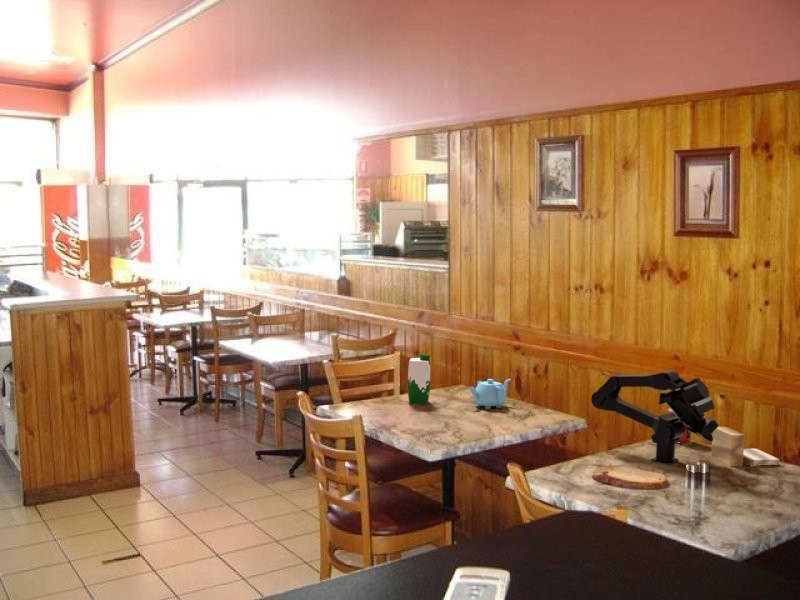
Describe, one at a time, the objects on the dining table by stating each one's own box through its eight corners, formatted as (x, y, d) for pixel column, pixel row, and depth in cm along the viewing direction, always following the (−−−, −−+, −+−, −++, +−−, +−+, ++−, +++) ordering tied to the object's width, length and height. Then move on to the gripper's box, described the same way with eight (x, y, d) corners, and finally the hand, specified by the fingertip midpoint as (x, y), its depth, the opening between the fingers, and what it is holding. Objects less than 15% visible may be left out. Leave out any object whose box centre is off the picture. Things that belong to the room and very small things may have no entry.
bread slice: (674, 486, 251) (675, 473, 250) (629, 495, 242) (629, 482, 241) (629, 470, 266) (630, 458, 266) (585, 477, 257) (586, 465, 257)
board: (750, 466, 272) (750, 460, 272) (727, 455, 285) (728, 449, 284) (779, 465, 274) (779, 459, 273) (755, 454, 286) (755, 448, 286)
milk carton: (428, 405, 351) (429, 356, 349) (406, 404, 352) (407, 355, 350) (430, 400, 359) (431, 353, 357) (409, 399, 361) (410, 352, 359)
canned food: (691, 444, 298) (693, 413, 297) (667, 442, 299) (669, 411, 298) (688, 438, 305) (690, 408, 304) (665, 437, 307) (667, 406, 306)
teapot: (477, 401, 361) (478, 374, 360) (510, 404, 356) (510, 377, 355) (467, 408, 347) (468, 380, 345) (500, 412, 342) (501, 383, 341)
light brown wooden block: (729, 466, 272) (731, 435, 271) (711, 456, 282) (712, 426, 282) (742, 466, 272) (744, 435, 272) (723, 456, 283) (725, 426, 282)
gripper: (714, 395, 264) (745, 429, 267) (685, 383, 282) (714, 415, 285) (689, 420, 263) (720, 455, 266) (661, 406, 282) (690, 439, 285)
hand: (711, 440), depth 276 cm, fingers closed
